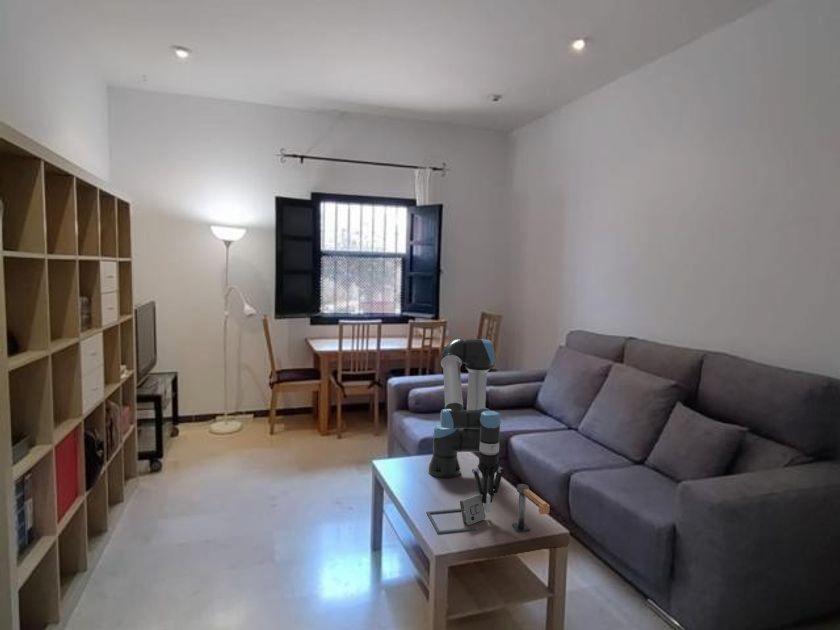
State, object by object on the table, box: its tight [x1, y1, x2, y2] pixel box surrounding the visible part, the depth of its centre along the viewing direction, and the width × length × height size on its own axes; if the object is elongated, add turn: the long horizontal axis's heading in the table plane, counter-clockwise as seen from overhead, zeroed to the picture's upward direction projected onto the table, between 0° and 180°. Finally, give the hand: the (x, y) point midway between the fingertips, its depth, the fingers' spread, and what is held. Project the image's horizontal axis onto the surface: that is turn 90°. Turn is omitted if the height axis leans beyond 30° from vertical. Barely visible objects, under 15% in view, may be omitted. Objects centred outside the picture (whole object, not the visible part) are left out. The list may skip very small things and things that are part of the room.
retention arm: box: [516, 483, 551, 515], centre depth 180 cm, size 17×4×4 cm, turn 20°
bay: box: [425, 508, 478, 535], centre depth 191 cm, size 16×15×1 cm
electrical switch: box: [459, 494, 486, 526], centre depth 192 cm, size 9×5×9 cm, turn 128°
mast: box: [511, 492, 531, 533], centre depth 187 cm, size 5×5×14 cm
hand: (486, 510), depth 194 cm, fingers closed
